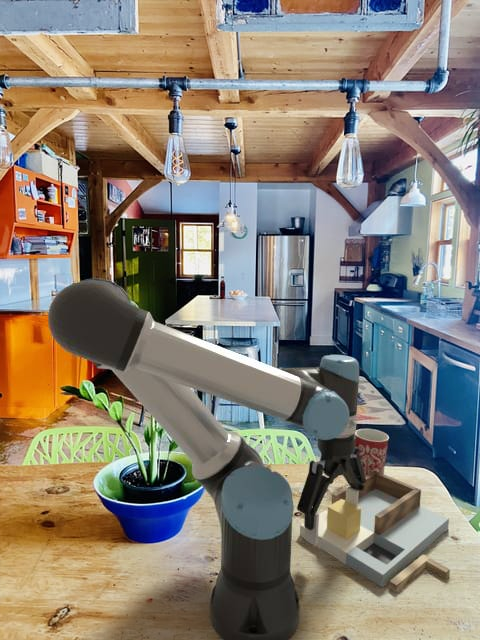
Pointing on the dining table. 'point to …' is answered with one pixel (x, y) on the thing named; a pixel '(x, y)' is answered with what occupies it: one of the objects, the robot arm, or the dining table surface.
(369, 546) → the board
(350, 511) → the block
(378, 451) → the mug
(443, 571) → the crook tool
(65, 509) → the dining table surface
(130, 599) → the dining table surface
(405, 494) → the cubby
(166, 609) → the dining table surface
